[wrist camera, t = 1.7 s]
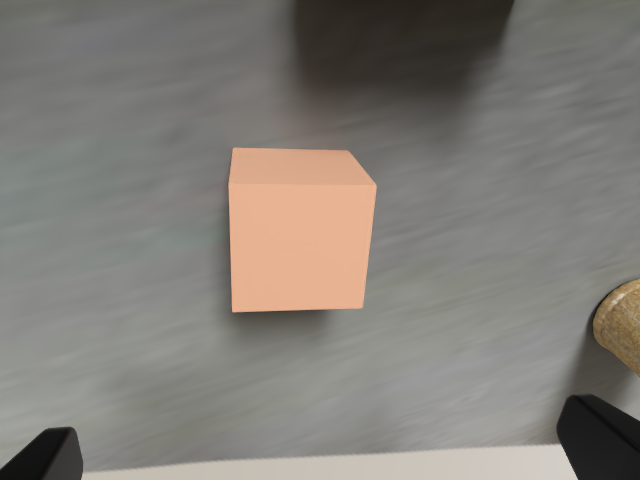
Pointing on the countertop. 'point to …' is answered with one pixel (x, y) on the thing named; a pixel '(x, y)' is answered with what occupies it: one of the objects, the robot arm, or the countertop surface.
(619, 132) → the countertop surface
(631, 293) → the sprinkles bottle
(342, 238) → the terracotta cube
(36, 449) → the robot arm
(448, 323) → the countertop surface
